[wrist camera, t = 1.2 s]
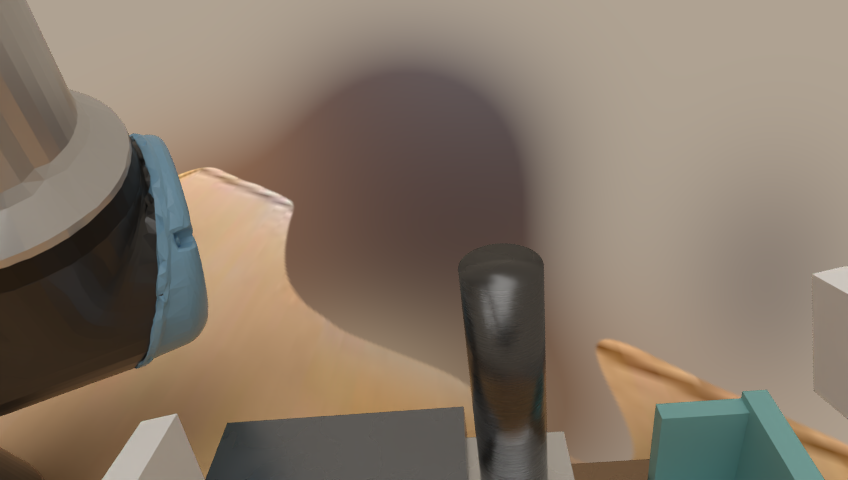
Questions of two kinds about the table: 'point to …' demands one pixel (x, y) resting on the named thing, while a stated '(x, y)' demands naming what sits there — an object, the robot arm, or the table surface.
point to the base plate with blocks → (367, 449)
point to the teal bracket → (727, 442)
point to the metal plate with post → (508, 367)
